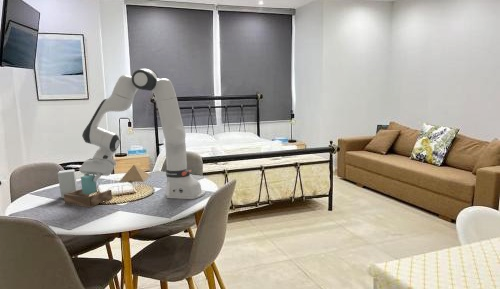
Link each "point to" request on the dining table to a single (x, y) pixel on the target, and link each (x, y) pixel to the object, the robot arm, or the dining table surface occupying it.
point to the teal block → (88, 184)
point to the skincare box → (67, 181)
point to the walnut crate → (86, 198)
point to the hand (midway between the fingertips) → (89, 180)
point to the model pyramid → (135, 175)
